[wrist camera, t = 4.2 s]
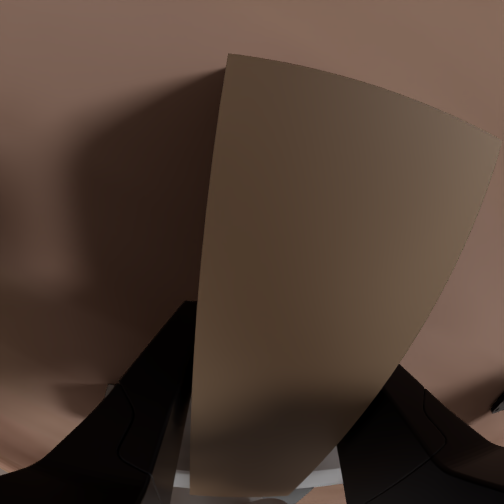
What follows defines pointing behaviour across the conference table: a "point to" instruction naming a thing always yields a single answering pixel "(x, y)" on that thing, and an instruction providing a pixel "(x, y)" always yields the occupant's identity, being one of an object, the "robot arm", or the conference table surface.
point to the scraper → (316, 266)
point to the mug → (216, 499)
